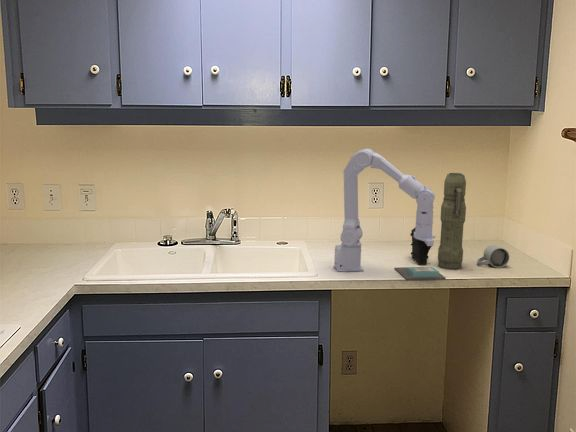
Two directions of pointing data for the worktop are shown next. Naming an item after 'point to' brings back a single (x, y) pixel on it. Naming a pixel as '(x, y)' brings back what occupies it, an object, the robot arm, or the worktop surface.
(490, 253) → the ceramic mug
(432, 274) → the card box
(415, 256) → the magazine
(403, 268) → the mat
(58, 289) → the worktop surface
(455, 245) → the thermos
